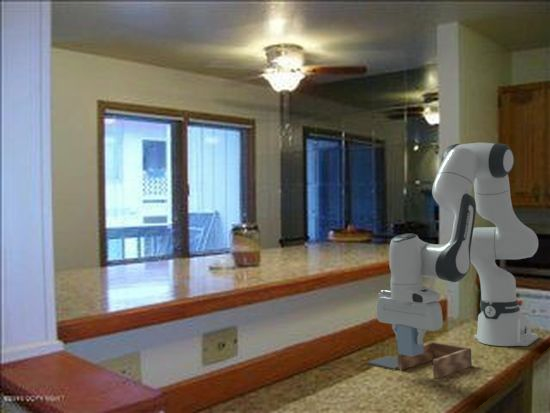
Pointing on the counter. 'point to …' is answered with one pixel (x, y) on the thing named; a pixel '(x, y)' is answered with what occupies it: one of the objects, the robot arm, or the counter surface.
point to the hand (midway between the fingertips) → (409, 342)
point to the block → (408, 341)
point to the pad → (385, 362)
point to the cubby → (439, 358)
